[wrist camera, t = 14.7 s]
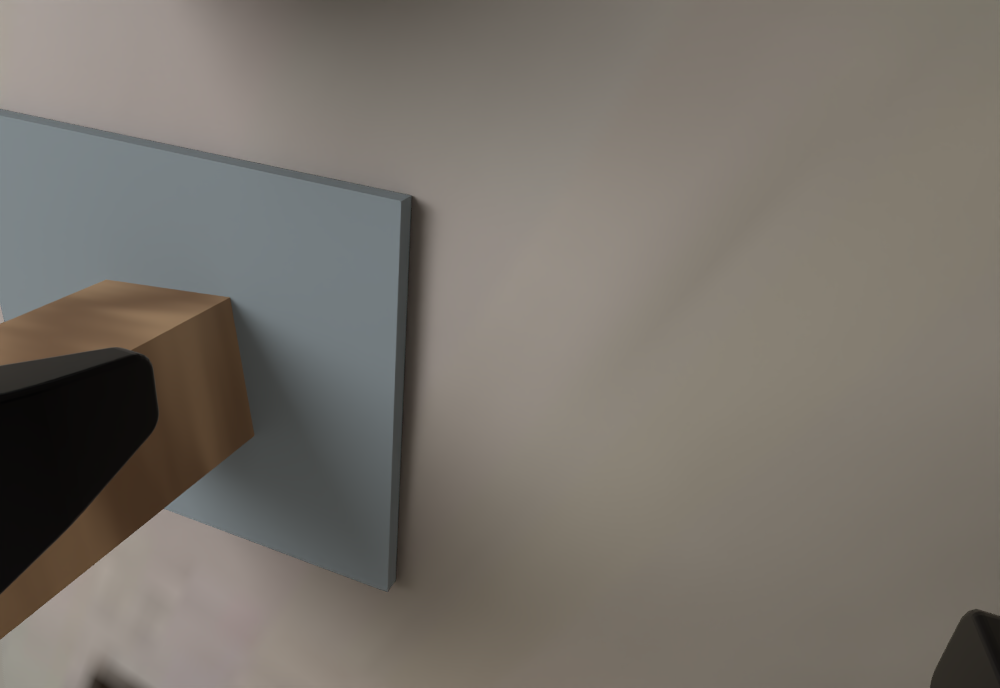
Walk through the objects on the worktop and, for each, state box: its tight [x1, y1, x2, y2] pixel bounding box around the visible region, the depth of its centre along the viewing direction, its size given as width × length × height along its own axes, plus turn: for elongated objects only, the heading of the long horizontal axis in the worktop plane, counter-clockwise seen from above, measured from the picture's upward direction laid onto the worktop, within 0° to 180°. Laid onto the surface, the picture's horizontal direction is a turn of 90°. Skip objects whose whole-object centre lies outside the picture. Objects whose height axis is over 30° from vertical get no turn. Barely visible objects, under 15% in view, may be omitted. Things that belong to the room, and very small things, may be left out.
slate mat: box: [0, 109, 411, 592], centre depth 26 cm, size 16×14×1 cm
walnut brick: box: [0, 280, 254, 639], centre depth 20 cm, size 5×5×13 cm
